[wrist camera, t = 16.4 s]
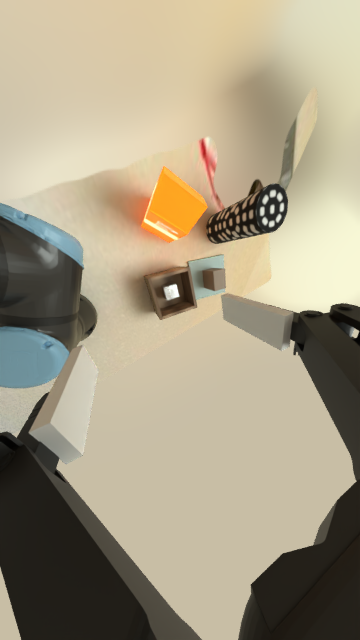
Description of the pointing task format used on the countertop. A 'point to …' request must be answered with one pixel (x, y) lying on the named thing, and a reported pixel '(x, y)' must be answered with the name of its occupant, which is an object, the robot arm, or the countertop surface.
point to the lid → (208, 276)
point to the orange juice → (172, 208)
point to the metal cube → (170, 291)
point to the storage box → (184, 286)
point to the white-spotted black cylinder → (250, 216)
